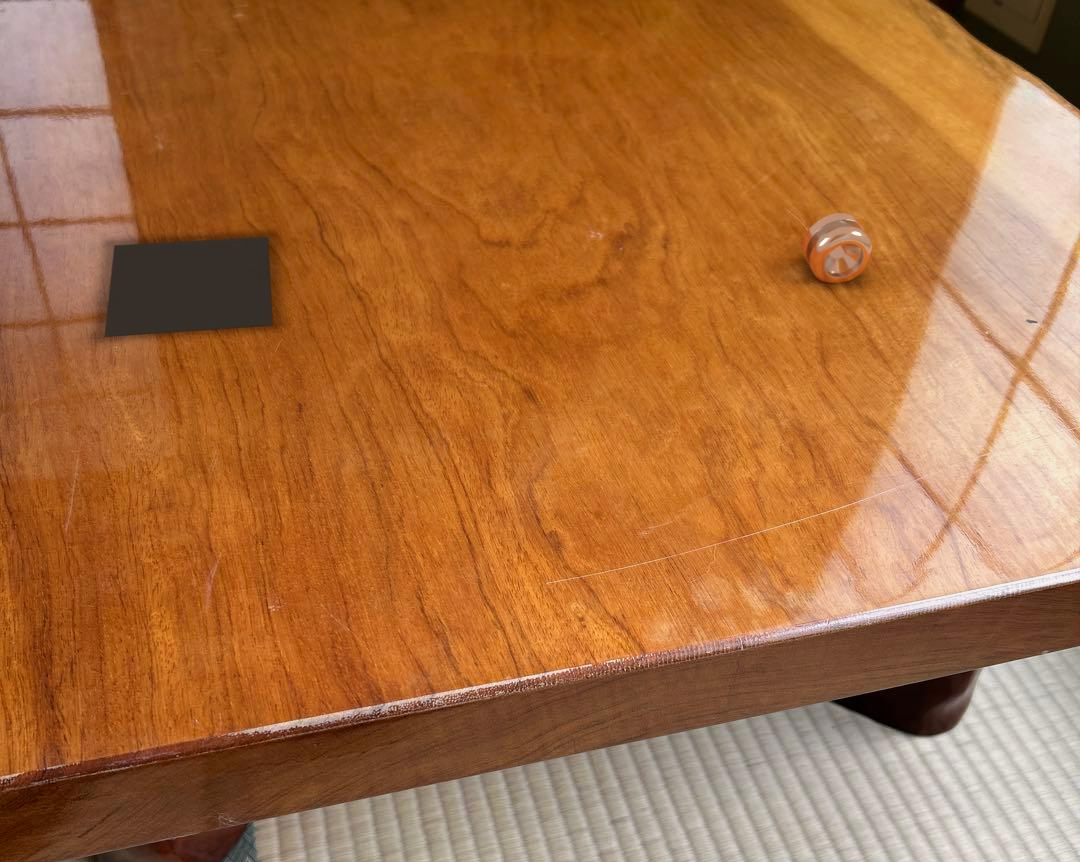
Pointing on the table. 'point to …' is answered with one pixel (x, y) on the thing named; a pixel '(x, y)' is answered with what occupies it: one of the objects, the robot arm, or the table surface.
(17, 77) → the table surface
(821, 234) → the metal grooved wheel
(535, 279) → the table surface
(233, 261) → the mat
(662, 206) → the table surface
